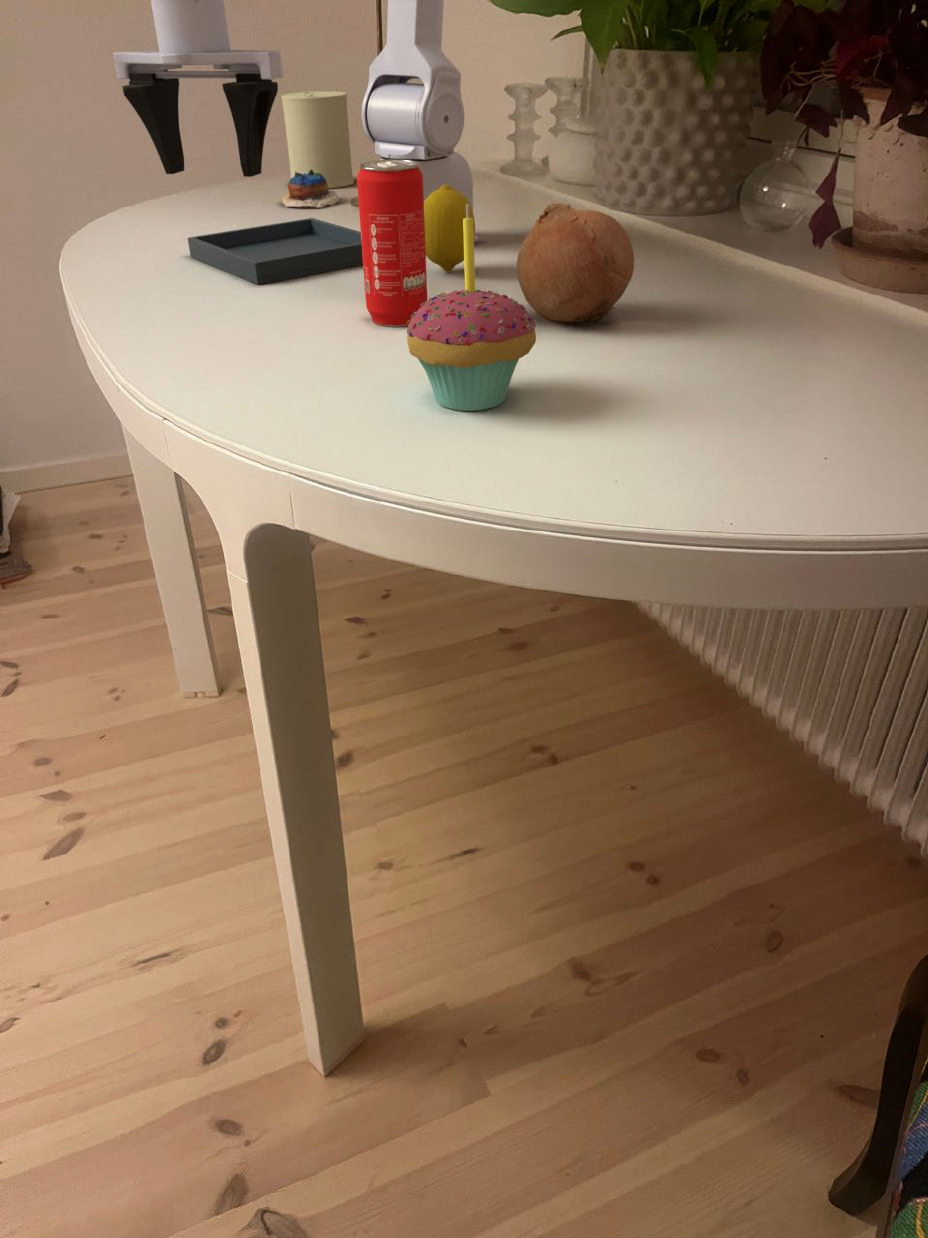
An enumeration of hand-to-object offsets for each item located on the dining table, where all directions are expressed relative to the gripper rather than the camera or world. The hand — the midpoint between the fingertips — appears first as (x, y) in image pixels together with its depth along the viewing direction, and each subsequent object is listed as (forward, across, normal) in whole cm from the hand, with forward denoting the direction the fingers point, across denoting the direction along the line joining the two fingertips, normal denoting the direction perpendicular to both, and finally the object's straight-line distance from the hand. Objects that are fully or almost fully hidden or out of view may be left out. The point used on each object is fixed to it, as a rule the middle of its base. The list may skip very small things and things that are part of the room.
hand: (213, 173), depth 83 cm
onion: (+10, +33, -1) cm, 34 cm away
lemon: (+10, +18, +12) cm, 24 cm away
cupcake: (+10, +30, -21) cm, 38 cm away
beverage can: (+10, +18, -4) cm, 22 cm away
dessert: (+10, -12, +43) cm, 46 cm away
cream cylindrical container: (+10, -16, +58) cm, 61 cm away
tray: (+10, -1, +14) cm, 17 cm away
